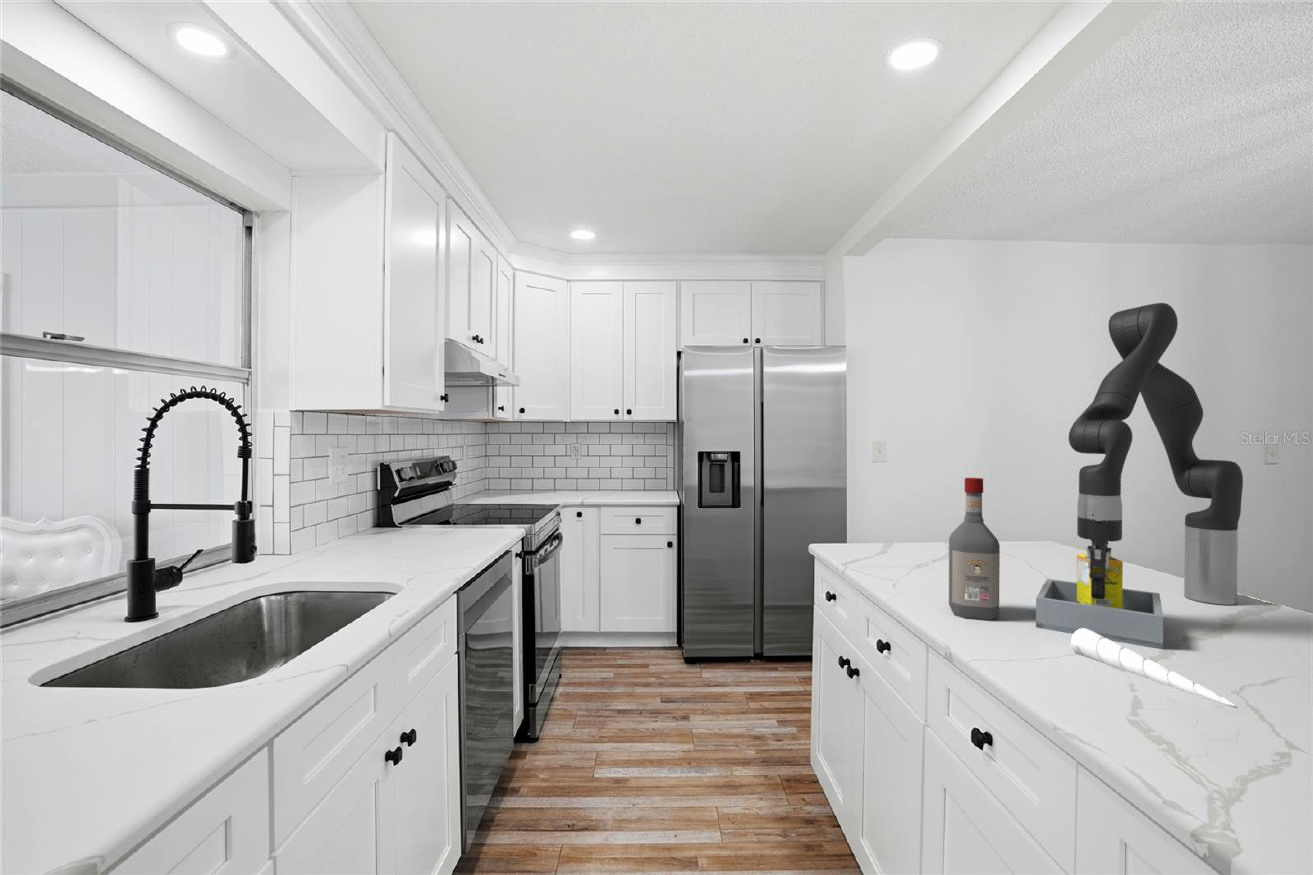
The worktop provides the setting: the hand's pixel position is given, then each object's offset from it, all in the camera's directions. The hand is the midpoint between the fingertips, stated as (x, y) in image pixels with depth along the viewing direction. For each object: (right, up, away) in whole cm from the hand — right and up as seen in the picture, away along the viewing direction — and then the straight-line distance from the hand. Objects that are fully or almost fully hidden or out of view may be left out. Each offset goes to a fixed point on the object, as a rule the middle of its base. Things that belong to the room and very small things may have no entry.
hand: (1098, 593), depth 125 cm
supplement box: (0, -3, 0) cm, 3 cm away
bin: (0, -6, 0) cm, 6 cm away
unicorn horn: (-11, -7, -25) cm, 28 cm away
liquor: (-22, -7, +7) cm, 24 cm away
